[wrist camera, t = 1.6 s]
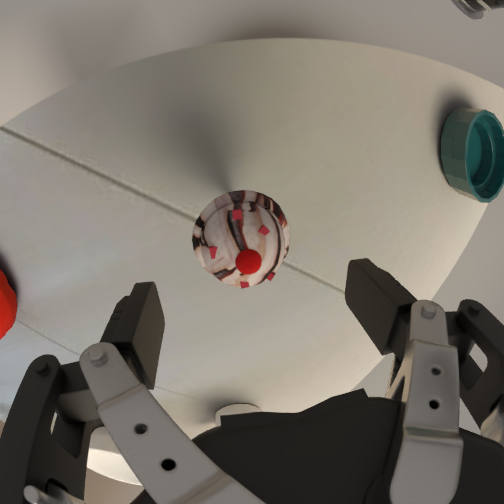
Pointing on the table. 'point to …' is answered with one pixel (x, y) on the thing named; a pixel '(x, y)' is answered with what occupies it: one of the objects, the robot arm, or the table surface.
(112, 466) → the bowl
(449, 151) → the ceramic bowl
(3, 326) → the tomato
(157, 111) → the table surface
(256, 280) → the ice cream cone
